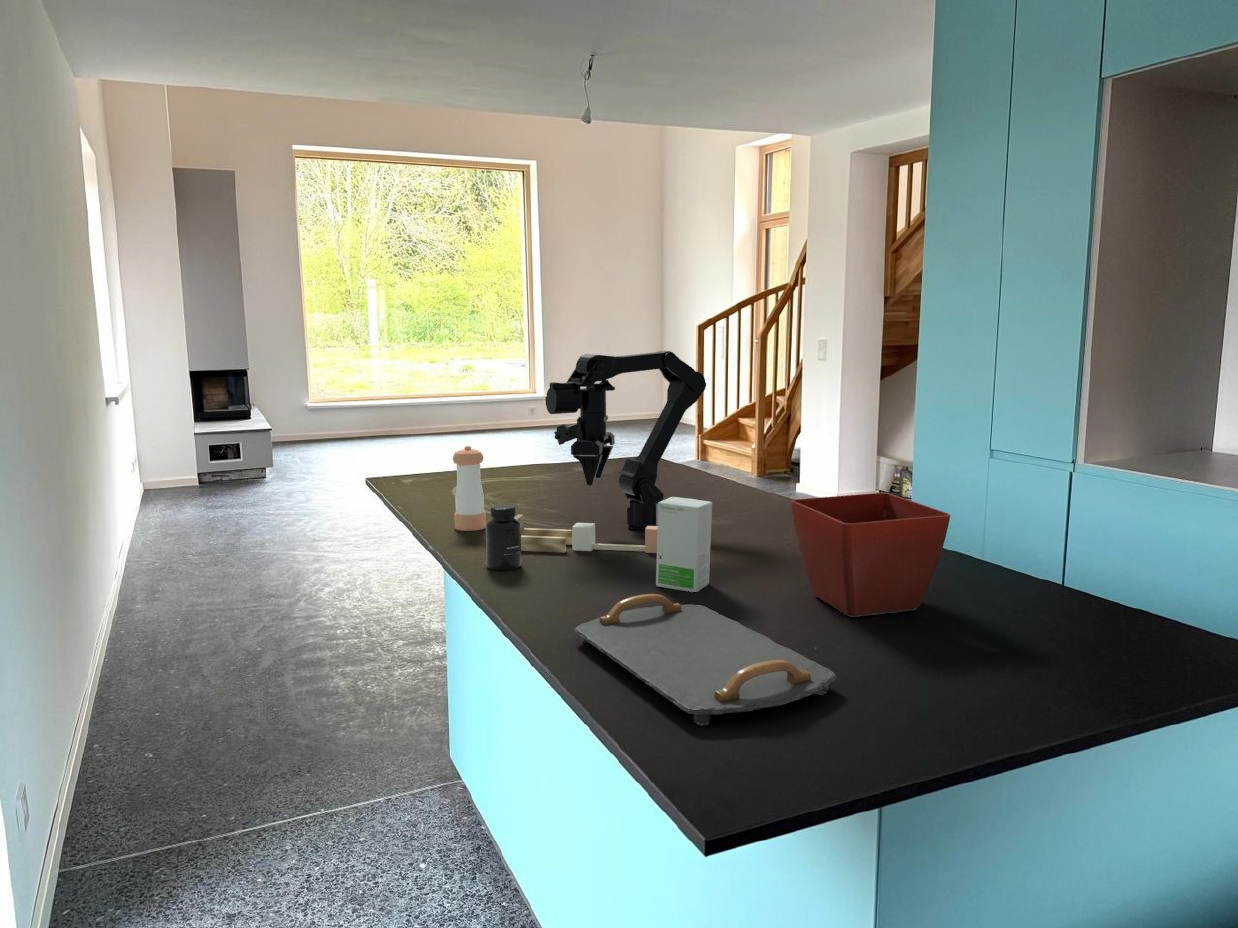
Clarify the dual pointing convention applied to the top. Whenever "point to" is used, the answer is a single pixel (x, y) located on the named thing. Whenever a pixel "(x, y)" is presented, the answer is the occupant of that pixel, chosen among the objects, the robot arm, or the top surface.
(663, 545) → the skincare box
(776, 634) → the top surface
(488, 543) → the supplement bottle
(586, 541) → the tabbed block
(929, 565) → the plant pot
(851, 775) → the top surface
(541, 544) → the oak lane
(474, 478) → the pepper shaker
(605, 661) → the top surface
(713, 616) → the serving board
